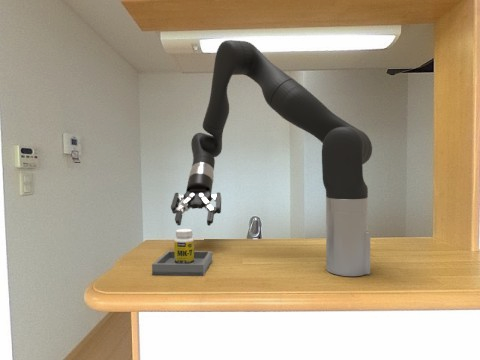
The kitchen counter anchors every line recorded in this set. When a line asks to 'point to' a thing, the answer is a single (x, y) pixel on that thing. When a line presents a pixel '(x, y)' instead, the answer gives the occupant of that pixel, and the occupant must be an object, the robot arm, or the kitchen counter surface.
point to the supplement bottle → (184, 247)
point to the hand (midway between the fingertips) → (193, 223)
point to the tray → (168, 266)
